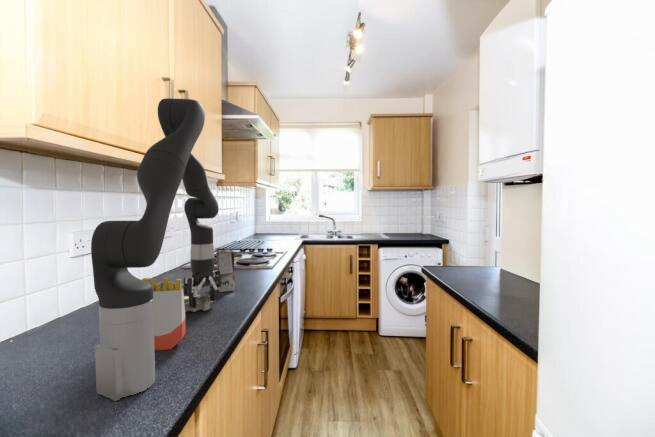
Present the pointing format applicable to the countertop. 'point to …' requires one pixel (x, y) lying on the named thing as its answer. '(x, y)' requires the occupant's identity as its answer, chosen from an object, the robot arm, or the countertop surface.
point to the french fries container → (168, 313)
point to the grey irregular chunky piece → (199, 303)
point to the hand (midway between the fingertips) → (203, 304)
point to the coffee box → (226, 270)
